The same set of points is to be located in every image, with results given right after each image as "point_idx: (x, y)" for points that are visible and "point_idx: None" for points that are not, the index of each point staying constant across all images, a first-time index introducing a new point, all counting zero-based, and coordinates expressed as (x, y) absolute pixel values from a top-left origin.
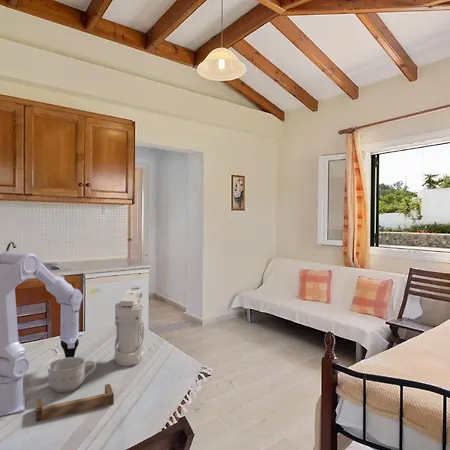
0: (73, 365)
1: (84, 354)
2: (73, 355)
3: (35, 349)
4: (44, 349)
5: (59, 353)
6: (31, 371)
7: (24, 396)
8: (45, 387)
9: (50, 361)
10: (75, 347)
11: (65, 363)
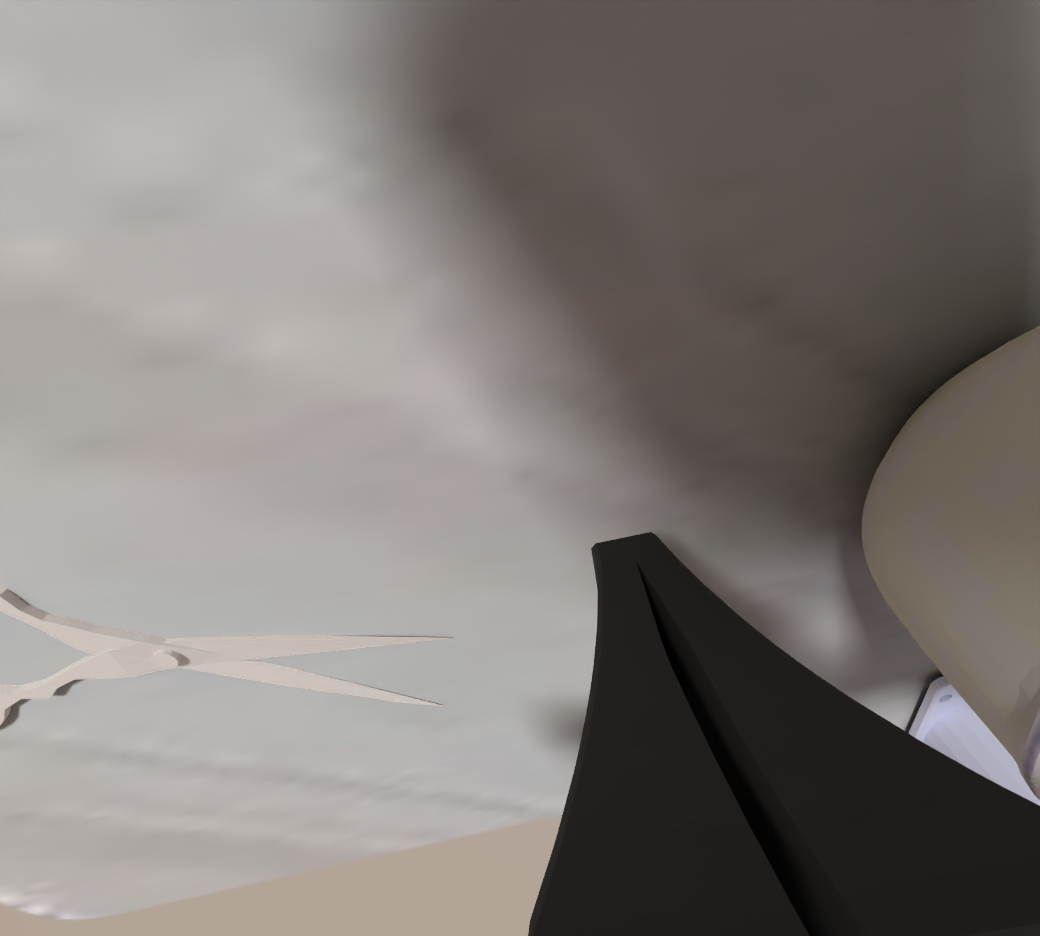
0: (1026, 520)
1: (44, 380)
2: (709, 602)
3: (52, 811)
4: (27, 768)
5: (114, 659)
6: (512, 735)
7: (951, 686)
8: (855, 603)
9: (320, 677)
10: (934, 772)
11: (993, 646)
